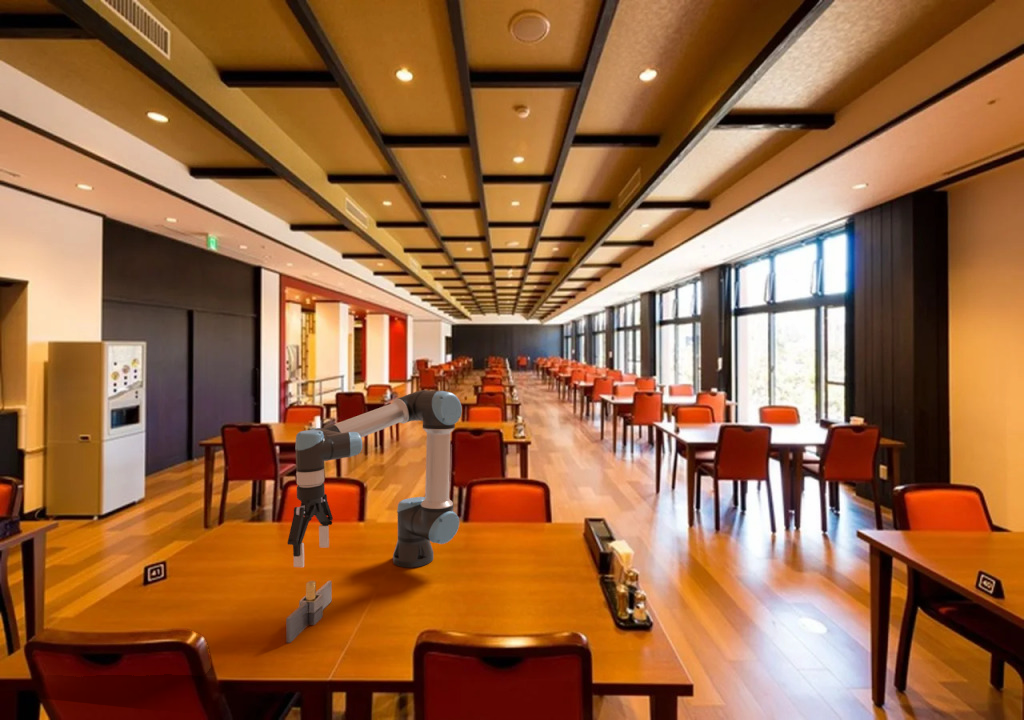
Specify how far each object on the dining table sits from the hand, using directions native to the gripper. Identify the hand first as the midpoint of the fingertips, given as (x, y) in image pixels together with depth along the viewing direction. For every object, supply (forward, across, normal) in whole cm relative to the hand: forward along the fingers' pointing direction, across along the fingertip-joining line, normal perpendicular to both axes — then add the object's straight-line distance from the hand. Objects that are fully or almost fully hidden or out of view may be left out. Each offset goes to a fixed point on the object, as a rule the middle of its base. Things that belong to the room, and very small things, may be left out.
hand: (312, 556), depth 143 cm
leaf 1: (+18, -4, 0) cm, 19 cm away
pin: (+19, +1, 0) cm, 19 cm away
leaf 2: (+19, +5, 0) cm, 19 cm away
